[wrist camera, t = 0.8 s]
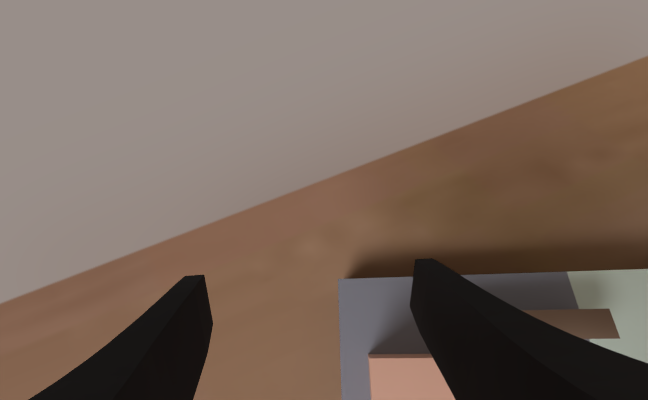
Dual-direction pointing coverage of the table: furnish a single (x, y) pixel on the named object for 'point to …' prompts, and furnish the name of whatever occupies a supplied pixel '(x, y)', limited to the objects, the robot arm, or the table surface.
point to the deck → (514, 288)
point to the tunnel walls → (580, 322)
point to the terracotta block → (406, 378)
